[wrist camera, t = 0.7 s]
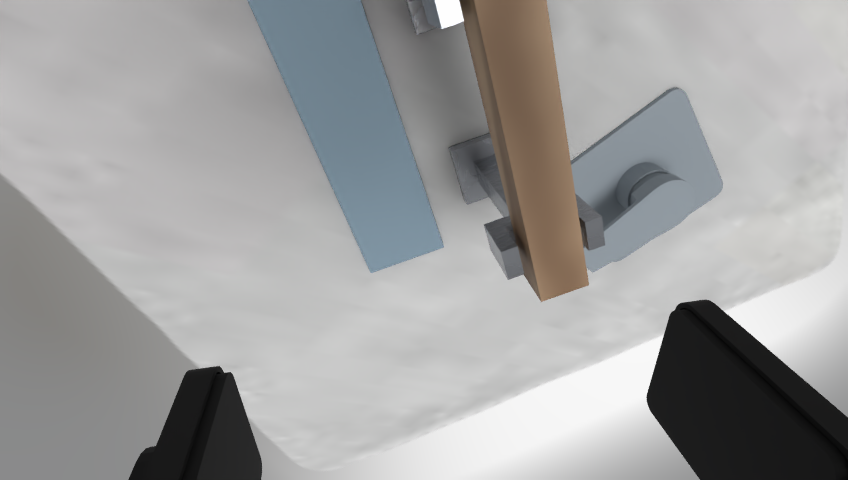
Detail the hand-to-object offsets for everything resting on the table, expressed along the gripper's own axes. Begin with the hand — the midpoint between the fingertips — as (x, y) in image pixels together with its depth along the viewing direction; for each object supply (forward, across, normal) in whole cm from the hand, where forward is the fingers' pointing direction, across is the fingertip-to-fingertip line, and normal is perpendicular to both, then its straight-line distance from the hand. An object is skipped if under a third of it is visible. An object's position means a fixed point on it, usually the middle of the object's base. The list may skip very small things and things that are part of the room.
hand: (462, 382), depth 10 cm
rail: (+17, -7, -1) cm, 18 cm away
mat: (+29, +2, +2) cm, 29 cm away
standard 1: (+29, -9, +6) cm, 31 cm away
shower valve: (+30, -22, +10) cm, 38 cm away
